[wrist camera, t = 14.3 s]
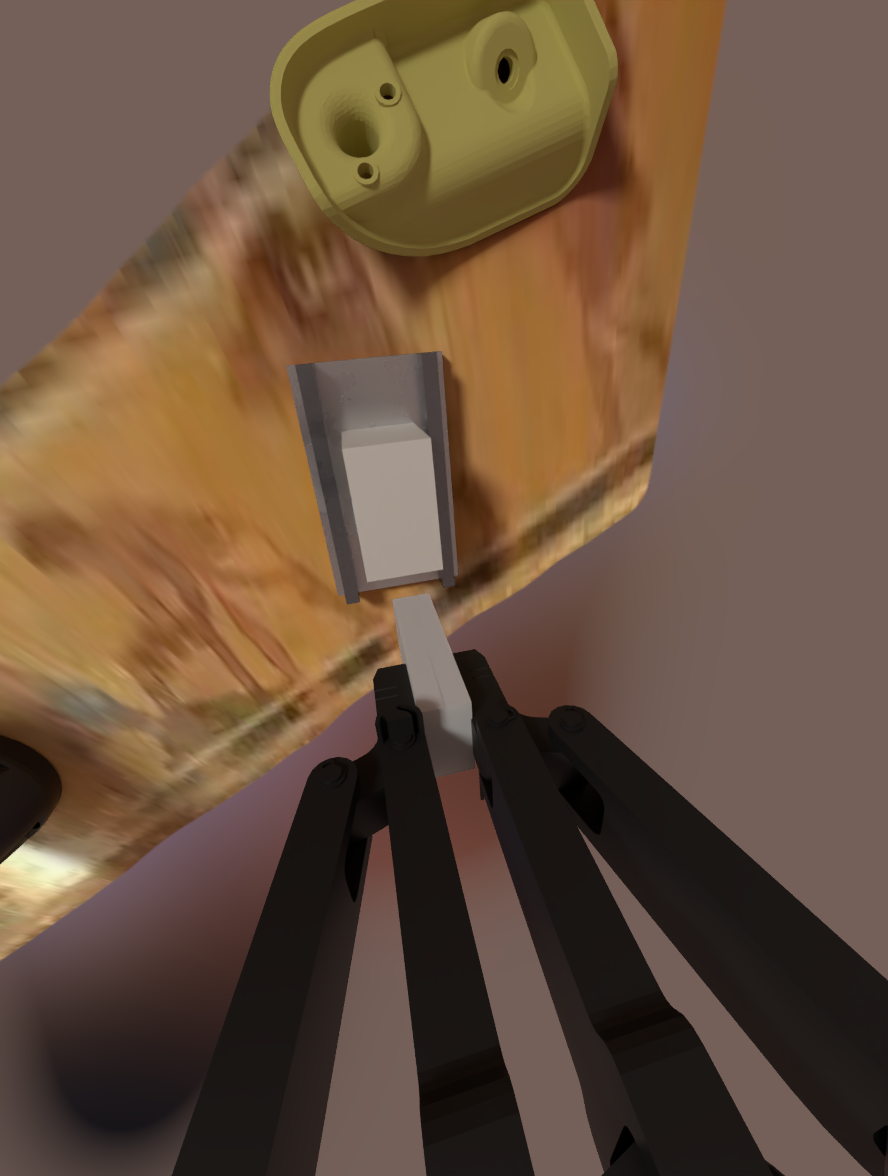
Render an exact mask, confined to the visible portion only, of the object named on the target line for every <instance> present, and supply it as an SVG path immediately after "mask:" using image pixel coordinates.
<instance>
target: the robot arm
mask: <svg viewBox="0 0 888 1176" xmlns="http://www.w3.org/2000/svg"><path fill="white" fill-rule="evenodd" d="M392 600H393V607H394V614H395V620H396V627H397V634H398V640H399V647H400V654H401V658H402V663H403V664H401V665H396V666H390V667H385V668H380V669H378V670H377V672H376V674H375V676H374V679H373V683H374V691H375V700H376V708H377V717H376V722H375V726H376V731H377V736H378V741H377V743H376V744H375V746H374V748H372V749H371V751H369V752H368V753H367V754H366V755H364V756H362V757H360V758H358V759H357V760H355V761H353V762H352V761H351V760H349V759H347V758H341V757H335V758H330V759H327V760H325V761H323V762H321V763H320V764H318V765H317V766H316V767H315V768H314V769H313V770H312V772H311V774H310V775H309V777H308V779H307V782H306V786H305V788H304V791H303V794H302V797H301V800H300V803H299V805H298V809H297V811H296V814H295V817H294V820H293V823H292V826H291V829H290V832H289V835H288V838H287V840H286V843H285V846H284V850H283V852H282V855H281V858H280V861H279V864H278V867H277V870H276V873H275V876H274V878H273V882H272V884H271V887H270V890H269V893H268V896H267V899H266V902H265V905H264V908H263V911H262V914H261V916H260V919H259V922H258V925H257V928H256V931H255V934H254V937H253V940H252V943H251V946H250V949H249V952H248V955H247V957H246V960H245V963H244V966H243V969H242V972H241V975H240V978H239V981H238V984H237V987H236V990H235V992H234V995H233V998H232V1001H231V1004H230V1007H229V1010H228V1013H227V1016H226V1019H225V1022H224V1025H223V1027H222V1030H221V1034H220V1036H219V1039H218V1042H217V1045H216V1048H215V1051H214V1054H213V1057H212V1060H211V1063H210V1066H209V1068H208V1071H207V1074H206V1077H205V1080H204V1083H203V1086H202V1089H201V1092H200V1095H199V1098H198V1101H197V1104H196V1106H195V1109H194V1112H193V1115H192V1118H191V1121H190V1124H189V1127H188V1130H187V1133H186V1136H185V1139H184V1141H183V1144H182V1147H181V1150H180V1153H179V1156H178V1159H177V1162H176V1165H175V1168H174V1171H173V1174H172V1176H315V1173H316V1167H317V1161H318V1154H319V1149H320V1143H321V1137H322V1131H323V1125H324V1120H325V1114H326V1108H327V1102H328V1096H329V1089H330V1084H331V1078H332V1072H333V1066H334V1060H335V1054H336V1049H337V1043H338V1037H339V1031H340V1025H341V1019H342V1013H343V1007H344V1001H345V996H346V990H347V983H348V978H349V972H350V965H351V960H352V954H353V948H354V942H355V936H356V931H357V925H358V919H359V912H360V907H361V901H362V895H363V889H364V883H365V877H366V871H367V866H368V860H369V854H370V848H371V842H372V835H373V834H374V833H376V832H378V831H379V830H381V829H383V828H384V827H386V826H387V825H389V832H390V840H391V850H392V858H393V866H394V875H395V884H396V893H397V901H398V909H399V919H400V927H401V935H402V944H403V953H404V962H405V970H406V979H407V987H408V996H409V1005H410V1013H411V1022H412V1030H413V1039H414V1048H415V1057H416V1065H417V1074H418V1083H419V1096H420V1117H421V1128H422V1138H423V1148H424V1157H425V1166H426V1174H427V1176H535V1175H534V1171H533V1167H532V1163H531V1159H530V1155H529V1150H528V1146H527V1142H526V1138H525V1134H524V1130H523V1126H522V1122H521V1118H520V1114H519V1110H518V1106H517V1102H516V1098H515V1094H514V1090H513V1087H512V1084H511V1080H510V1076H509V1074H508V1071H507V1069H506V1066H505V1063H504V1060H503V1056H502V1052H501V1048H500V1044H499V1040H498V1036H497V1031H496V1027H495V1023H494V1019H493V1015H492V1010H491V1007H490V1002H489V998H488V994H487V990H486V986H485V982H484V977H483V973H482V969H481V965H480V961H479V956H478V952H477V948H476V944H475V940H474V936H473V931H472V927H471V923H470V919H469V915H468V911H467V906H466V902H465V898H464V894H463V890H462V886H461V882H460V877H459V874H458V869H457V865H456V861H455V857H454V852H453V848H452V844H451V840H450V836H449V832H448V828H447V824H446V819H445V815H444V811H443V807H442V803H441V799H440V794H439V790H438V786H437V782H436V777H440V776H444V775H448V774H452V773H457V772H461V771H465V770H470V769H474V768H475V760H476V763H477V766H478V769H479V780H480V796H481V800H483V799H484V797H485V800H486V803H487V806H488V809H489V812H490V815H491V818H492V821H493V824H494V827H495V830H496V833H497V836H498V839H499V842H500V845H501V848H502V851H503V854H504V857H505V860H506V863H507V866H508V869H509V871H510V874H511V878H512V881H513V883H514V887H515V890H516V893H517V896H518V899H519V901H520V905H521V908H522V911H523V913H524V916H525V919H526V922H527V925H528V928H529V931H530V934H531V937H532V940H533V943H534V946H535V949H536V952H537V955H538V958H539V961H540V964H541V967H542V970H543V973H544V976H545V979H546V982H547V985H548V988H549V991H550V994H551V997H552V1000H553V1003H554V1006H555V1009H556V1012H557V1015H558V1018H559V1021H560V1024H561V1027H562V1030H563V1033H564V1036H565V1039H566V1042H567V1045H568V1048H569V1051H570V1054H571V1056H572V1060H573V1063H574V1066H575V1069H576V1072H577V1075H578V1078H579V1081H580V1085H581V1089H582V1093H583V1098H584V1104H585V1108H586V1114H587V1118H588V1121H589V1125H590V1128H591V1132H592V1136H593V1139H594V1142H595V1145H596V1148H597V1152H598V1154H599V1158H600V1161H601V1164H602V1166H603V1170H604V1174H603V1175H602V1176H784V1175H783V1174H782V1173H781V1172H780V1171H779V1170H777V1169H776V1168H775V1167H774V1166H773V1165H771V1164H770V1163H768V1162H767V1161H766V1160H765V1159H764V1158H763V1156H762V1154H761V1152H760V1150H759V1148H758V1146H757V1144H756V1143H755V1141H754V1139H753V1137H752V1135H751V1133H750V1131H749V1130H748V1127H747V1126H746V1124H745V1122H744V1120H743V1118H742V1116H741V1114H740V1113H739V1111H738V1109H737V1107H736V1105H735V1103H734V1101H733V1099H732V1097H731V1096H730V1094H729V1092H728V1090H727V1088H726V1086H725V1084H724V1082H723V1081H722V1079H721V1077H720V1075H719V1073H718V1071H717V1069H716V1067H715V1066H714V1064H713V1062H712V1060H711V1058H710V1056H709V1054H708V1053H707V1051H706V1049H705V1047H704V1045H703V1043H702V1042H701V1040H700V1038H699V1036H698V1035H697V1033H696V1032H695V1030H694V1028H693V1027H692V1025H691V1024H690V1023H689V1022H688V1020H687V1019H686V1018H685V1016H684V1015H683V1014H681V1013H680V1012H678V1011H677V1010H676V1009H674V1008H673V1007H672V1006H671V1005H670V1004H669V1002H668V1001H667V1000H666V999H665V997H664V995H663V993H662V991H661V990H660V988H659V986H658V984H657V982H656V980H655V978H654V976H653V974H652V972H651V970H650V968H649V966H648V964H647V963H646V961H645V958H644V956H643V954H642V952H641V950H640V948H639V946H638V944H637V943H636V941H635V939H634V937H633V935H632V933H631V931H630V929H629V927H628V925H627V923H626V921H625V919H624V917H623V915H622V913H621V911H620V909H619V907H618V905H617V904H616V901H615V900H614V898H613V896H612V894H611V892H610V890H609V888H608V886H607V884H606V882H605V880H604V878H603V876H602V874H601V872H600V870H599V868H598V866H597V864H596V863H595V860H594V859H593V856H592V855H591V853H590V851H589V849H588V847H587V845H586V843H585V841H584V839H583V837H582V835H581V833H580V831H579V829H580V830H581V831H582V832H583V834H584V835H585V836H586V837H587V838H588V840H589V841H590V842H591V843H592V845H593V846H594V847H595V848H596V850H597V851H598V852H599V853H600V855H601V856H602V857H603V858H604V859H605V861H606V862H607V863H608V864H609V866H610V867H611V868H612V869H613V871H614V872H615V873H616V874H617V875H618V877H619V878H620V879H621V880H622V882H623V883H624V884H625V885H626V887H627V888H628V889H629V890H630V891H631V893H632V894H633V895H634V896H635V898H636V899H637V900H638V901H639V903H640V904H641V905H642V906H643V907H644V909H645V910H646V911H647V912H648V914H649V915H650V916H651V917H652V919H653V920H654V921H655V922H656V923H657V925H658V926H659V927H660V928H661V930H662V931H663V932H664V933H665V935H666V936H667V937H668V938H669V940H670V941H671V942H672V943H673V944H674V946H675V947H676V948H677V949H678V951H679V952H680V953H681V954H682V956H683V957H684V958H685V959H686V960H687V962H688V963H689V964H690V965H691V966H692V968H693V969H694V970H695V972H696V973H697V974H698V975H699V976H700V978H701V979H702V980H703V981H704V983H705V984H706V985H707V986H708V987H709V989H710V990H711V991H712V992H713V994H714V995H715V996H716V997H717V999H718V1000H719V1001H720V1002H721V1004H722V1005H723V1006H724V1007H725V1009H726V1010H727V1011H728V1012H729V1013H730V1015H731V1016H732V1017H733V1018H734V1020H735V1021H736V1022H737V1023H738V1025H739V1026H740V1027H741V1028H742V1029H743V1031H744V1032H745V1033H746V1034H747V1035H748V1037H749V1038H750V1039H751V1041H752V1042H753V1043H754V1044H755V1045H756V1047H757V1048H758V1049H759V1050H760V1052H761V1053H762V1054H763V1055H764V1056H765V1058H766V1059H767V1060H768V1061H769V1063H770V1064H771V1065H772V1066H773V1068H774V1069H775V1070H776V1071H777V1073H778V1074H779V1075H780V1076H781V1078H782V1079H783V1080H784V1081H785V1082H786V1084H787V1085H788V1086H789V1087H790V1089H791V1090H792V1091H793V1092H794V1093H795V1094H796V1096H797V1097H798V1098H799V1099H800V1100H801V1101H802V1102H803V1104H804V1105H805V1106H806V1107H807V1108H808V1109H809V1111H810V1112H811V1113H812V1114H813V1115H814V1116H815V1117H816V1119H817V1120H818V1121H819V1122H820V1123H821V1125H822V1126H823V1127H824V1128H825V1129H826V1130H827V1131H828V1132H829V1133H830V1134H831V1135H832V1136H833V1137H834V1138H835V1139H836V1140H837V1141H838V1142H839V1143H840V1144H841V1145H842V1146H843V1147H844V1148H845V1149H846V1150H847V1151H848V1152H849V1153H850V1154H851V1156H853V1158H854V1159H855V1160H857V1162H858V1163H859V1164H860V1165H861V1166H862V1167H863V1168H864V1169H866V1170H867V1171H868V1172H869V1173H870V1174H871V1175H872V1176H888V980H887V979H886V978H884V977H883V976H882V975H881V974H880V973H879V972H878V971H877V970H875V969H874V968H873V967H872V966H871V965H870V964H869V963H868V962H867V961H865V960H864V959H863V958H862V957H861V956H860V955H859V954H858V953H857V952H855V951H854V950H853V949H852V948H851V947H850V946H849V945H848V944H847V943H845V942H844V941H843V940H842V939H841V938H840V937H838V935H837V934H835V933H834V932H833V931H832V930H831V929H830V928H829V927H828V926H827V925H825V924H824V923H823V922H822V921H821V920H820V919H819V918H818V917H816V916H815V915H814V914H813V913H812V912H811V911H810V910H809V909H808V908H806V907H805V906H804V905H803V904H802V903H801V902H800V901H799V900H797V899H796V898H795V897H794V896H793V895H792V894H791V893H790V892H789V891H788V890H786V889H785V888H784V887H783V886H782V885H781V884H780V883H778V881H776V880H775V879H774V878H773V877H772V876H771V875H770V874H768V873H767V872H766V871H765V870H764V869H763V868H762V867H761V866H760V865H759V864H757V863H756V862H755V861H754V860H753V859H752V858H751V857H750V856H749V855H747V854H746V853H745V852H744V851H743V850H742V849H741V848H740V847H739V846H737V845H736V844H735V843H734V842H733V841H732V840H731V839H730V838H728V837H727V836H726V835H725V834H724V833H723V832H722V831H721V830H720V829H718V828H717V827H716V826H715V825H714V824H713V823H712V822H711V821H710V820H708V819H707V818H706V817H705V816H704V815H703V814H702V813H701V812H699V811H698V810H697V809H696V808H695V807H694V806H693V805H691V803H689V802H688V801H687V800H686V799H685V798H684V797H683V796H682V795H680V794H679V793H678V792H677V791H676V790H675V789H674V788H673V787H672V786H670V785H669V784H668V783H667V782H666V781H665V780H664V779H663V778H662V777H660V776H659V775H658V774H657V773H656V772H655V771H654V770H653V769H652V768H650V767H649V766H648V765H647V764H646V763H645V762H644V761H643V760H641V759H640V758H639V757H638V756H637V755H636V754H635V753H634V752H633V751H632V750H630V749H629V748H628V747H627V746H626V745H625V744H624V743H623V742H622V741H620V740H619V739H618V738H617V737H616V736H615V735H614V734H613V733H611V732H610V731H609V730H608V729H607V728H606V727H605V726H604V725H603V724H601V723H600V722H599V721H598V720H597V719H596V718H595V717H594V716H592V715H591V714H590V713H589V712H587V711H586V710H584V709H582V708H580V707H576V706H569V705H564V706H561V707H557V708H556V709H554V710H553V711H551V713H550V715H549V718H540V717H529V716H525V715H522V714H519V713H518V711H517V710H516V709H515V708H513V707H511V706H510V705H509V704H508V703H507V701H506V699H505V697H504V695H503V693H502V691H501V689H500V687H499V685H498V683H497V681H496V679H495V677H494V676H493V673H492V671H491V669H490V668H489V665H488V663H487V661H486V659H485V657H484V656H483V655H482V654H480V653H479V652H478V651H476V650H475V649H473V650H468V651H463V652H458V653H453V654H452V652H451V649H450V646H449V644H448V641H447V639H446V636H445V634H444V631H443V628H442V626H441V623H440V621H439V618H438V616H437V613H436V611H435V608H434V606H433V603H432V601H431V598H430V595H429V593H427V594H421V595H416V596H410V597H404V598H398V599H392ZM60 796H61V782H60V779H59V776H58V774H57V773H56V771H55V769H54V768H53V767H52V766H51V764H50V763H49V762H48V761H47V760H45V759H44V758H43V757H42V756H41V755H39V754H38V753H36V752H35V751H33V750H32V749H30V748H28V747H26V746H24V745H22V744H20V743H18V742H15V741H13V740H10V739H7V738H4V737H1V736H0V864H1V863H2V862H3V861H4V860H6V859H7V858H8V857H9V856H10V855H11V854H12V853H13V852H15V851H16V850H17V849H18V848H19V847H20V846H21V845H22V844H23V843H24V842H25V841H26V840H27V839H29V838H30V837H31V836H33V835H34V834H35V833H36V832H37V831H38V830H39V829H40V828H41V827H42V826H43V825H44V824H45V822H46V821H47V819H48V818H49V816H50V815H51V813H52V812H53V810H54V808H55V807H56V805H57V804H58V802H59V799H60ZM577 826H578V827H579V829H578V827H577Z"/></svg>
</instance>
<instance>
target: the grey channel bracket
mask: <svg viewBox="0 0 888 1176" xmlns="http://www.w3.org/2000/svg"><path fill="white" fill-rule="evenodd" d="M286 367H287V371H288V376H289V380H290V384H291V389H292V393H293V398H294V402H295V406H296V411H297V415H298V420H299V424H300V429H301V433H302V437H303V442H304V446H305V451H306V455H307V459H308V464H309V468H310V473H311V477H312V481H313V486H314V490H315V495H316V499H317V504H318V508H319V512H320V517H321V521H322V526H323V530H324V534H325V539H326V543H327V548H328V552H329V557H330V561H331V565H332V570H333V574H334V579H335V583H336V587H337V592H338V596H340V595H345V598H346V602H347V604H352V603H358V602H360V598H359V592H363V591H369V590H375V589H381V588H387V587H393V586H398V585H404V584H410V583H416V582H422V581H428V580H434V579H439V580H440V582H441V584H442V586H443V588H444V587H450V586H455V577H454V576H457V575H458V564H457V550H456V537H455V523H454V509H453V496H452V482H451V469H450V455H449V442H448V428H447V414H446V401H445V387H444V374H443V360H442V351H436V352H426V353H415V354H405V355H394V356H383V357H373V358H362V359H351V360H341V361H330V362H320V363H309V364H298V365H288V366H286ZM407 423H415V424H416V425H417V426H418V427H419V428H420V429H421V430H422V431H424V432H425V433H426V434H427V435H428V436H429V437H430V438H431V445H432V456H433V466H434V477H435V488H436V498H437V509H438V519H439V530H440V541H441V551H442V562H443V570H437V571H431V572H425V573H419V574H413V575H407V576H401V577H395V578H389V579H383V580H378V581H372V582H367V579H366V573H365V568H364V563H363V557H362V552H361V547H360V542H359V536H358V534H357V529H356V524H355V518H354V513H353V508H352V502H351V494H350V489H349V484H348V478H347V473H346V468H345V463H344V457H343V452H342V435H341V431H348V430H356V429H365V428H373V427H382V426H390V425H398V424H407Z"/></svg>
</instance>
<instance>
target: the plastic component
mask: <svg viewBox="0 0 888 1176" xmlns="http://www.w3.org/2000/svg"><path fill="white" fill-rule="evenodd" d="M503 57H504V58H505V59H506V60H507V61H508V63H509V67H510V75H509V77H508V80H507V82H506V83H505V84H503V83H501V81H500V80H499V76H498V67H499V62H500V61H501V60H502V58H503ZM617 76H618V61H617V54H616V50H615V48H614V45H613V43H612V41H611V38H610V36H609V34H608V32H607V29H606V27H605V25H604V22H603V20H602V18H601V16H600V13H599V11H598V9H597V7H596V4H595V2H594V0H356V1H353V2H351V3H349V4H347V5H345V6H343V7H341V8H338V9H336V10H334V11H332V12H330V13H328V14H326V15H324V16H323V17H321V18H319V19H317V20H316V21H314V22H312V23H311V24H310V25H308V26H306V27H305V28H303V29H302V30H301V31H299V32H298V33H297V34H296V35H295V36H294V37H292V38H291V40H290V41H289V42H288V43H287V44H286V45H285V47H284V48H283V50H282V51H281V53H280V54H279V56H278V58H277V61H276V63H275V65H274V68H273V72H272V77H271V82H270V104H271V109H272V114H273V117H274V120H275V123H276V126H277V129H278V131H279V133H280V135H281V138H282V140H283V142H284V143H285V145H286V147H287V149H288V151H289V153H290V155H291V157H292V159H293V160H294V162H295V164H296V166H297V168H298V170H299V172H300V174H301V176H302V178H303V180H304V181H305V183H306V185H307V187H308V189H309V191H310V193H311V194H312V196H313V198H314V199H315V201H316V202H317V204H318V205H319V207H320V208H321V210H322V211H323V212H324V214H325V215H326V216H327V217H328V218H329V219H330V220H331V221H332V222H333V223H334V224H335V225H336V226H337V227H338V228H339V229H340V230H342V231H343V232H344V233H346V234H347V235H348V236H350V237H351V238H353V239H354V240H356V241H358V242H360V243H362V244H364V245H366V246H368V247H370V248H373V249H376V250H378V251H382V252H386V253H390V254H394V255H401V256H430V255H437V254H443V253H446V252H450V251H454V250H457V249H460V248H463V247H466V246H469V245H471V244H473V243H475V242H477V241H480V240H482V239H484V238H486V237H488V236H490V235H492V234H494V233H496V232H498V231H501V230H503V229H505V228H507V227H509V226H511V225H513V224H515V223H517V222H519V221H522V220H524V219H526V218H528V217H530V216H532V215H534V214H536V213H538V212H540V211H543V210H545V209H547V208H549V207H551V206H553V205H555V204H557V203H558V202H559V201H561V200H562V199H563V198H565V197H566V196H567V195H568V194H569V193H570V192H571V191H572V190H573V188H574V187H575V186H576V185H577V183H578V182H579V181H580V180H581V178H582V177H583V175H584V173H585V172H586V170H587V168H588V166H589V164H590V162H591V160H592V158H593V155H594V151H595V148H596V145H597V142H598V139H599V136H600V133H601V130H602V127H603V124H604V121H605V118H606V115H607V112H608V108H609V105H610V102H611V99H612V96H613V93H614V90H615V87H616V82H617ZM386 95H390V96H392V97H393V99H390V100H386V99H384V98H383V96H386Z"/></svg>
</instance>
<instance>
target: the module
mask: <svg viewBox="0 0 888 1176" xmlns="http://www.w3.org/2000/svg"><path fill="white" fill-rule="evenodd" d="M341 435H342V452H343V457H344V463H345V468H346V473H347V478H348V484H349V489H350V494H351V502H352V508H353V513H354V518H355V524H356V529H357V534H358V536H359V542H360V547H361V552H362V557H363V563H364V568H365V573H366V579H367V582H372V581H378V580H383V579H389V578H395V577H401V576H407V575H413V574H419V573H425V572H431V571H437V570H443V562H442V551H441V541H440V530H439V519H438V509H437V498H436V488H435V477H434V466H433V456H432V445H431V438H430V437H429V436H428V435H427V434H426V433H425V432H424V431H422V430H421V429H420V428H419V427H418V426H417V425H416V424H415V423H407V424H398V425H390V426H382V427H373V428H365V429H356V430H348V431H341Z"/></svg>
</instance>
